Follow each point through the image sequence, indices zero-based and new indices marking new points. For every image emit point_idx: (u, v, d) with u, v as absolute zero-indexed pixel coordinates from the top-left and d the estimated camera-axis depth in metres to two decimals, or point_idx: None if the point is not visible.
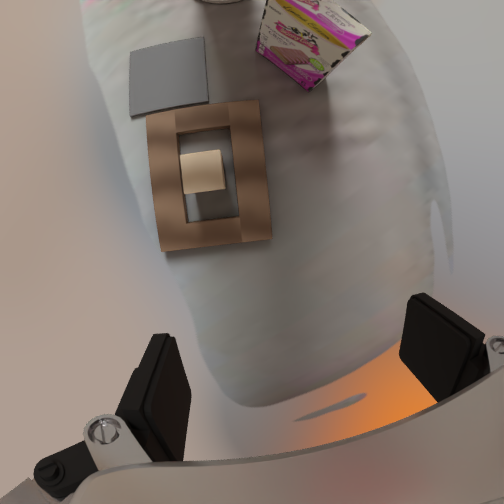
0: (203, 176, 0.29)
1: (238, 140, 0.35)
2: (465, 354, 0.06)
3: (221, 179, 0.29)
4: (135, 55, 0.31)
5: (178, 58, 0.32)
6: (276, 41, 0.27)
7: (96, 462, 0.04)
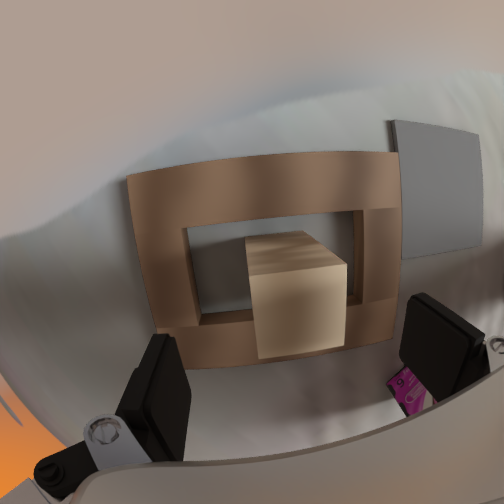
0: (291, 318, 0.12)
1: None
2: (465, 354, 0.06)
3: (279, 353, 0.13)
4: (473, 142, 0.19)
5: (463, 209, 0.20)
6: None
7: (96, 462, 0.04)
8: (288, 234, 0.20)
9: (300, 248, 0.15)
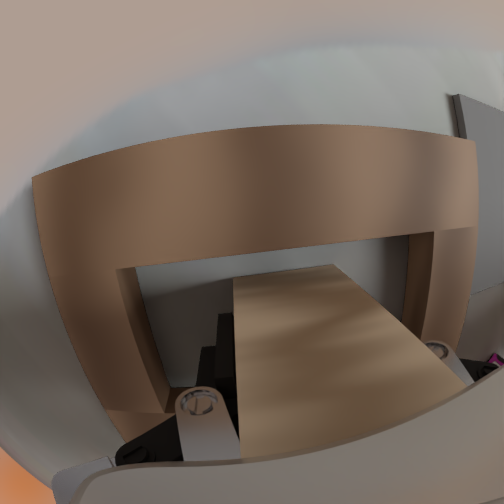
0: None
1: None
2: None
3: None
4: None
5: None
6: None
7: (180, 431, 0.05)
8: (311, 275, 0.11)
9: (352, 328, 0.07)
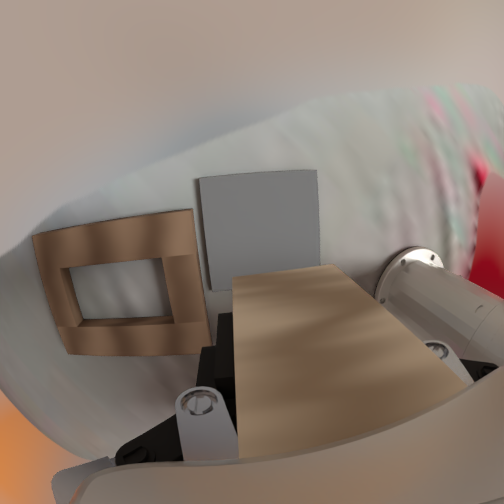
0: None
1: (156, 332, 0.28)
2: None
3: None
4: (307, 179, 0.27)
5: (287, 247, 0.29)
6: None
7: (180, 431, 0.05)
8: (311, 274, 0.11)
9: (352, 328, 0.07)
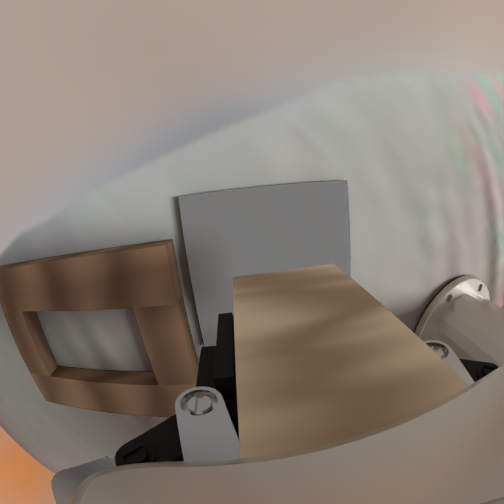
0: None
1: (137, 392, 0.20)
2: None
3: None
4: (333, 194, 0.19)
5: None
6: None
7: (180, 431, 0.05)
8: (312, 274, 0.11)
9: (353, 327, 0.07)
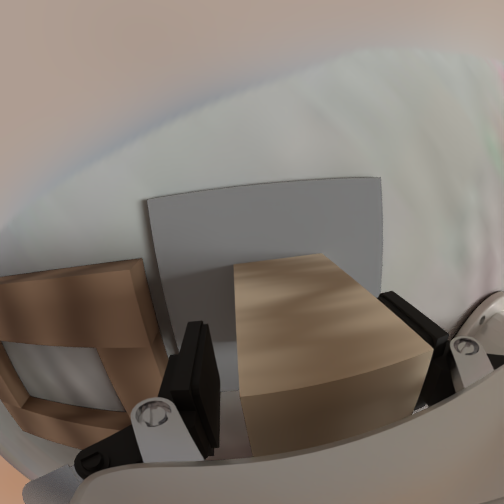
0: (320, 443, 0.05)
1: None
2: None
3: None
4: (363, 196, 0.13)
5: None
6: None
7: (139, 443, 0.04)
8: (301, 261, 0.13)
9: (331, 299, 0.08)
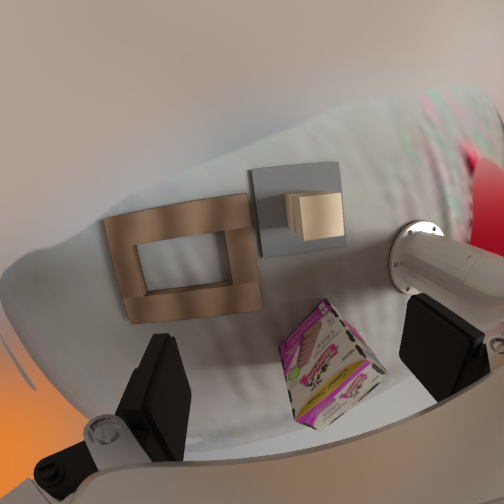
0: (318, 218, 0.27)
1: (216, 294, 0.37)
2: (465, 354, 0.06)
3: (313, 237, 0.28)
4: (331, 169, 0.35)
5: None
6: (322, 336, 0.33)
7: (96, 462, 0.04)
8: (309, 191, 0.34)
9: (318, 192, 0.30)
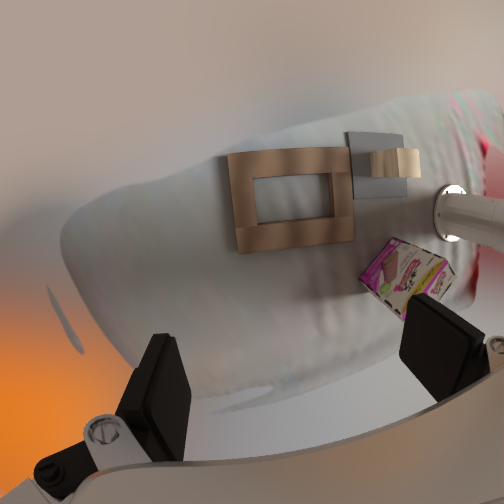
0: (406, 163, 0.35)
1: (321, 224, 0.44)
2: (465, 354, 0.06)
3: (404, 176, 0.35)
4: (398, 139, 0.42)
5: None
6: (402, 257, 0.41)
7: (96, 462, 0.04)
8: None
9: None
